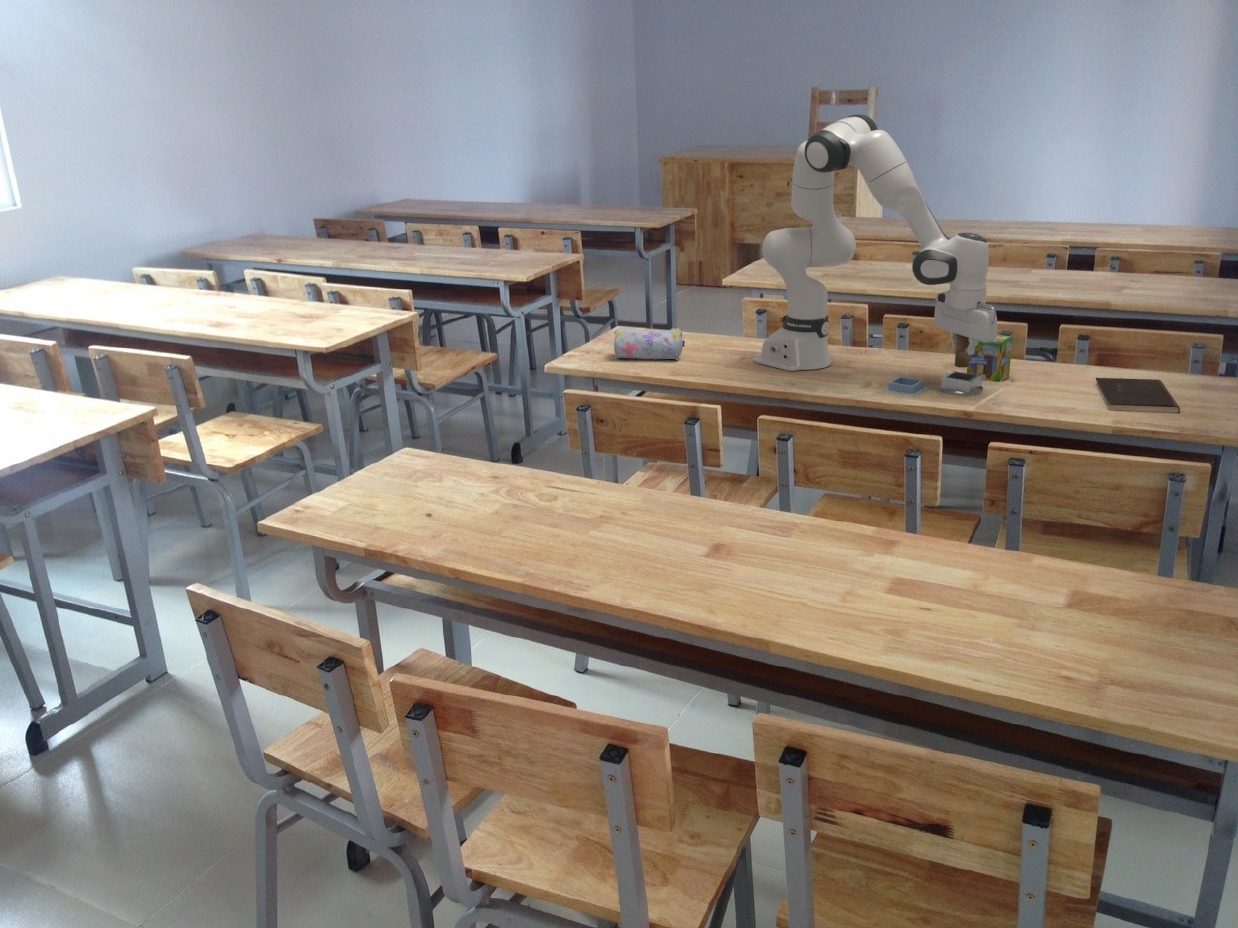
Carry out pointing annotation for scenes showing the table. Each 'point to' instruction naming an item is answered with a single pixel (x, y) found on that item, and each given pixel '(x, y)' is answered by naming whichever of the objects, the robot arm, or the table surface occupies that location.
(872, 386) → the table surface
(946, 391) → the hub
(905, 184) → the robot arm
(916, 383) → the stand
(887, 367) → the table surface
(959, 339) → the peg
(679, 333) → the pencil case
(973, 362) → the chalk box
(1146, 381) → the hardcover book
